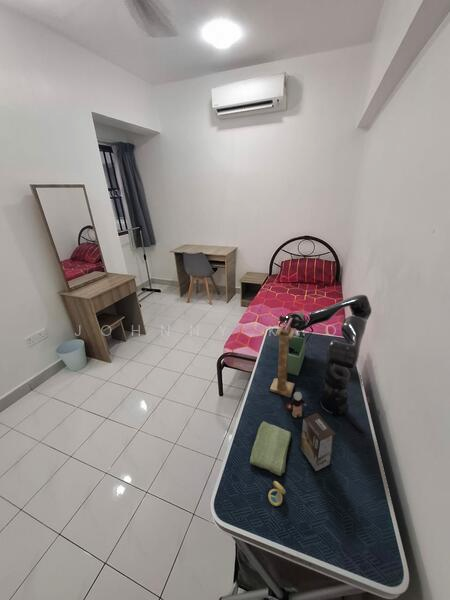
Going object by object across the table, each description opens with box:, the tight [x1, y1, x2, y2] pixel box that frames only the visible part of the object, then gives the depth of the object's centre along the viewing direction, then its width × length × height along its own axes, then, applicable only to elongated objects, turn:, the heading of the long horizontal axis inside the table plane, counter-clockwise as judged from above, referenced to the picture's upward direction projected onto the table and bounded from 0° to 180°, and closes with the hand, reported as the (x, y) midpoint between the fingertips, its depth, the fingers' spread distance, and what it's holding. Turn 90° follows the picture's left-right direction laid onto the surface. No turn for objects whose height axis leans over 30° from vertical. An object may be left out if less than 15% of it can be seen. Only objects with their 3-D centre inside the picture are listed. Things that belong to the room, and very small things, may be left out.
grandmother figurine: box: [288, 391, 307, 418], centre depth 101 cm, size 8×4×13 cm, turn 109°
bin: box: [287, 335, 307, 376], centre depth 131 cm, size 11×18×12 cm, turn 153°
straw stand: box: [269, 324, 296, 398], centre depth 110 cm, size 10×8×35 cm
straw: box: [283, 318, 293, 334], centre depth 106 cm, size 1×13×1 cm, turn 153°
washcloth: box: [249, 421, 292, 477], centre depth 90 cm, size 13×18×3 cm
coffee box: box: [300, 412, 336, 472], centre depth 84 cm, size 9×6×16 cm
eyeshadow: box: [267, 480, 287, 507], centre depth 76 cm, size 4×5×5 cm
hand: (289, 320), depth 107 cm, fingers open, 4 cm apart
